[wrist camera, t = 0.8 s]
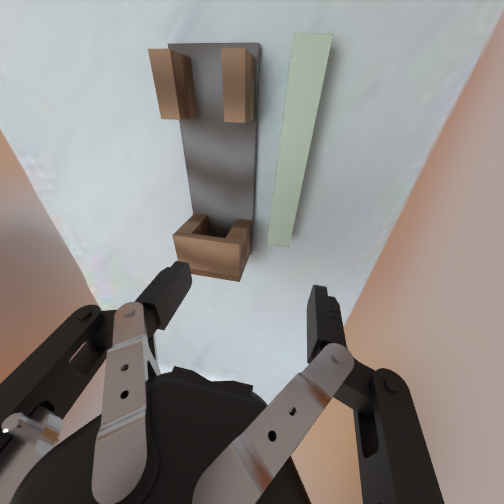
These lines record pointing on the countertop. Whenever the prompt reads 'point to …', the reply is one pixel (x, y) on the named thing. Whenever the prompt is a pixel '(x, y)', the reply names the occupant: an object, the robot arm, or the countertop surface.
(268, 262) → the countertop surface
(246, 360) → the countertop surface
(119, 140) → the countertop surface
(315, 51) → the slat
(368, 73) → the countertop surface
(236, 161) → the holder
